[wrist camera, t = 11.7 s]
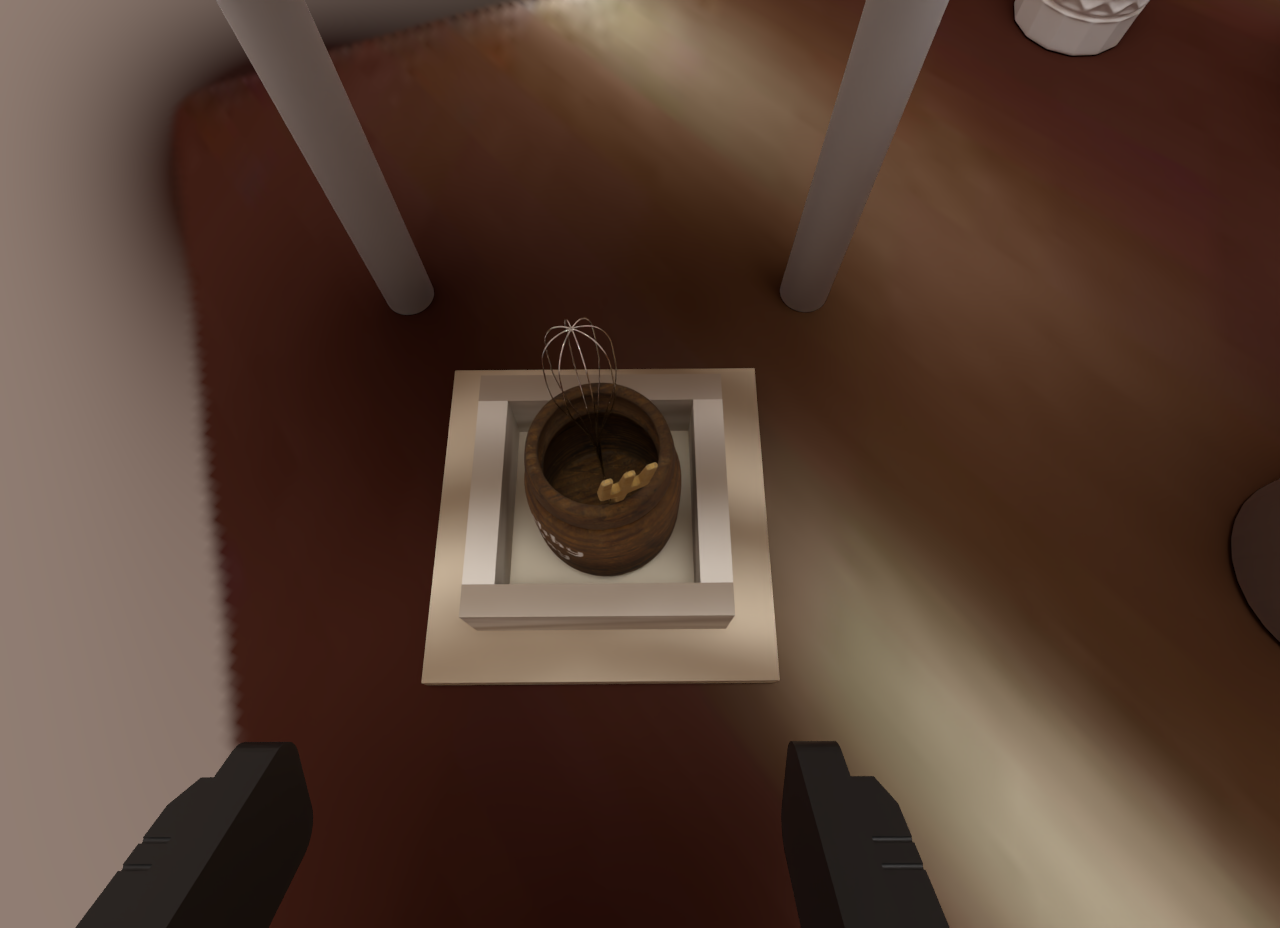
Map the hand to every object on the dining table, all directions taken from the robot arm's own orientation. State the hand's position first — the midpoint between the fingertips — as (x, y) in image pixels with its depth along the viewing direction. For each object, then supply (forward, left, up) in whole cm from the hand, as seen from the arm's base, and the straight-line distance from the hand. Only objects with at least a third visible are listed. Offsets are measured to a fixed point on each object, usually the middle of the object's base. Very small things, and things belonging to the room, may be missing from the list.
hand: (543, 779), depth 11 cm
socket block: (-8, -6, -17) cm, 20 cm away
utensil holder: (-8, -6, -16) cm, 19 cm away
